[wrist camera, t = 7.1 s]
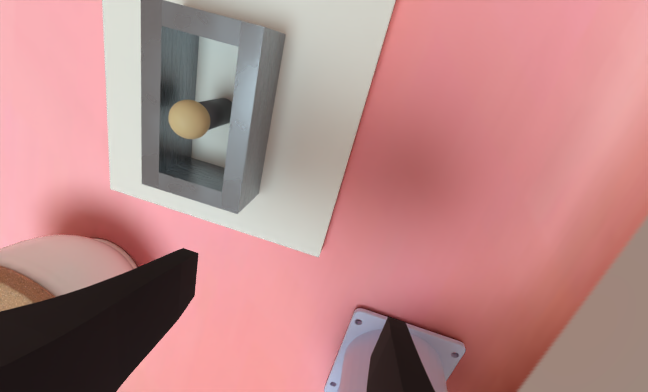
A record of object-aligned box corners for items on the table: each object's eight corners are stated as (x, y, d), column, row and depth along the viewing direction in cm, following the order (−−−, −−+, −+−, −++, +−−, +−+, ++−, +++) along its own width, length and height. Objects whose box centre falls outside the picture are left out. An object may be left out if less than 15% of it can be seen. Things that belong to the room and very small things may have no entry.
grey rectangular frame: (258, 193, 19) (237, 214, 16) (175, 167, 20) (141, 183, 17) (285, 34, 15) (264, 26, 13) (182, 6, 16) (140, -7, 13)
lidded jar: (124, 198, 23) (-35, 276, 14) (188, 313, 26) (91, 433, 17) (26, 226, 26) (-155, 305, 17) (95, 326, 29) (-28, 434, 20)
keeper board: (321, 249, 21) (302, 303, 16) (121, 184, 22) (47, 216, 17) (397, -4, 15) (401, -38, 10) (114, -77, 16) (-4, -140, 11)
